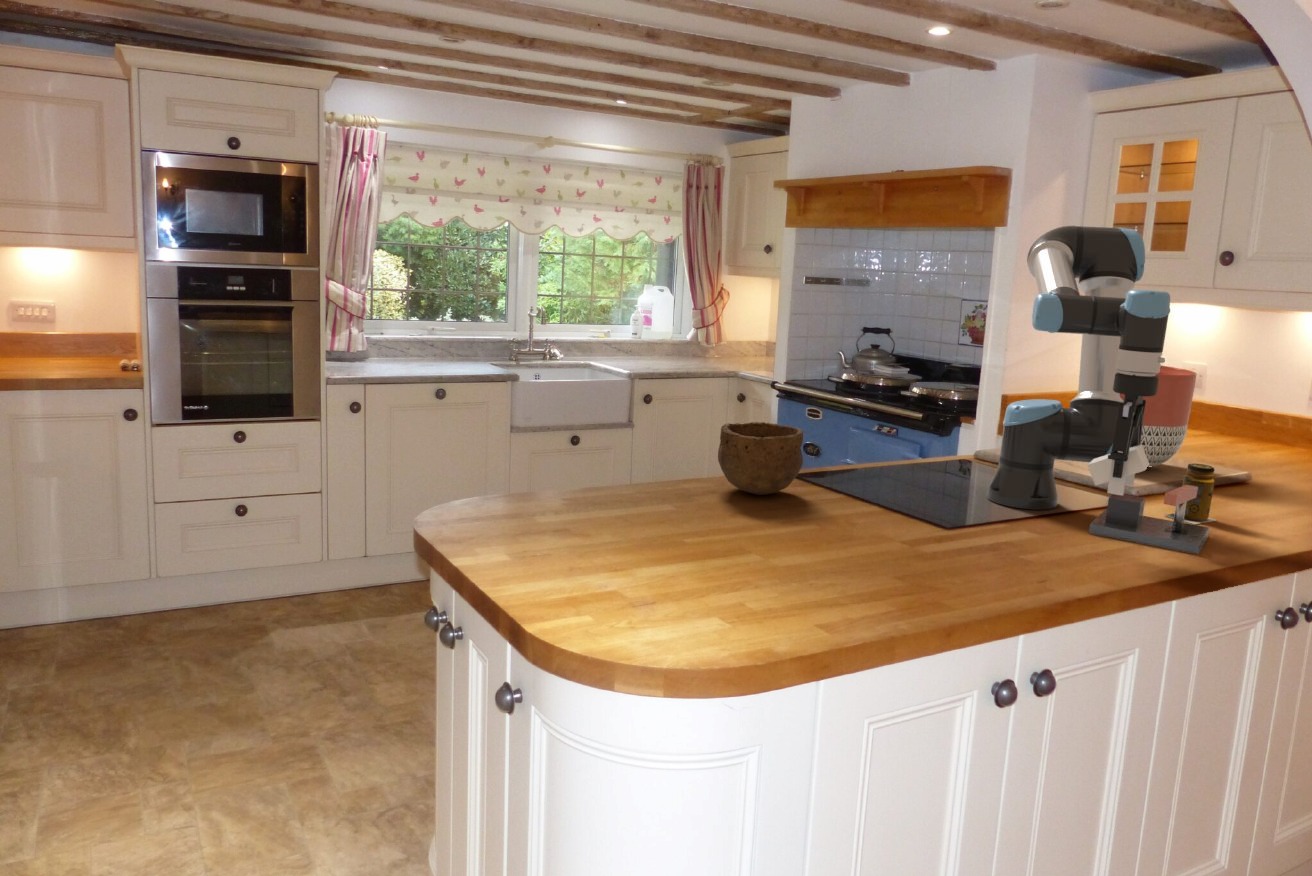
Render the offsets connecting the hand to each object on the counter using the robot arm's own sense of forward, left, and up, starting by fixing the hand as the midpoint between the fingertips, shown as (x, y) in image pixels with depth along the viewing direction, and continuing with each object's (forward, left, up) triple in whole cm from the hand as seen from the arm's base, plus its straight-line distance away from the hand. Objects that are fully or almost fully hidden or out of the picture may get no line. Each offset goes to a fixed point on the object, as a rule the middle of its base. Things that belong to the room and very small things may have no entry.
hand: (1120, 489), depth 193 cm
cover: (0, 0, +3) cm, 3 cm away
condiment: (+9, +39, -12) cm, 42 cm away
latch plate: (+4, +17, -12) cm, 21 cm away
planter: (-13, +90, -12) cm, 92 cm away
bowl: (-72, -12, -12) cm, 74 cm away
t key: (+9, +17, -10) cm, 22 cm away
